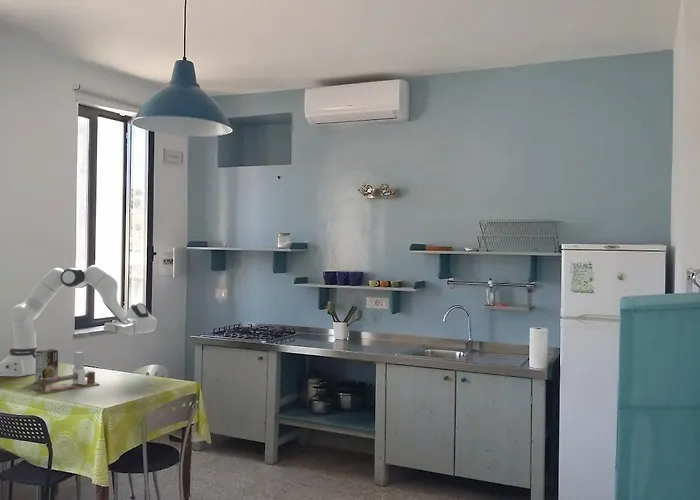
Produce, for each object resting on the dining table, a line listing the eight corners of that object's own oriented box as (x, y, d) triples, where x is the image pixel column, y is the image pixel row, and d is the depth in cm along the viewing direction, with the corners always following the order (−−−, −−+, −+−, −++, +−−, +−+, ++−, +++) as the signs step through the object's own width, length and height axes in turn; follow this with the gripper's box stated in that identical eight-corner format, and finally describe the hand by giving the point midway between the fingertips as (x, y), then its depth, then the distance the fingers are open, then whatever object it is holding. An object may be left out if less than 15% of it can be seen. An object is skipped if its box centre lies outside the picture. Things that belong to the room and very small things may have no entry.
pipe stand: (88, 381, 337) (88, 369, 337) (99, 385, 329) (99, 372, 329) (33, 390, 316) (33, 376, 316) (43, 394, 308) (44, 380, 308)
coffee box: (50, 378, 342) (51, 348, 342) (58, 380, 339) (58, 349, 338) (34, 381, 334) (35, 350, 334) (42, 383, 331) (42, 352, 331)
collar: (78, 381, 330) (78, 351, 330) (84, 383, 326) (85, 352, 325) (72, 382, 328) (73, 351, 328) (79, 384, 323) (79, 353, 323)
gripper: (119, 319, 354) (95, 320, 344) (139, 322, 341) (114, 324, 330) (119, 330, 354) (95, 332, 344) (138, 334, 341) (114, 336, 330)
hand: (104, 328), depth 337 cm, fingers closed
